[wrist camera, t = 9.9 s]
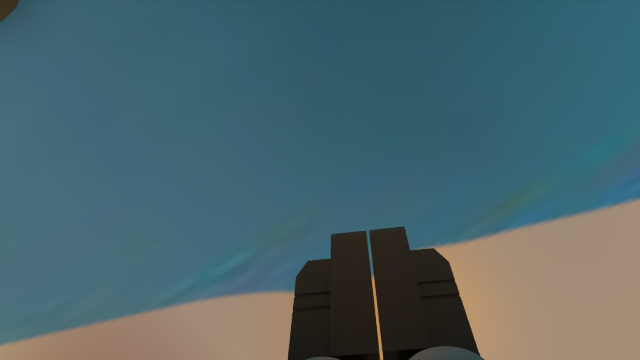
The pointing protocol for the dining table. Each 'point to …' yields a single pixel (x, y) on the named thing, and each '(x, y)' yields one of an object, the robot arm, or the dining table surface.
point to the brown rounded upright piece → (6, 7)
